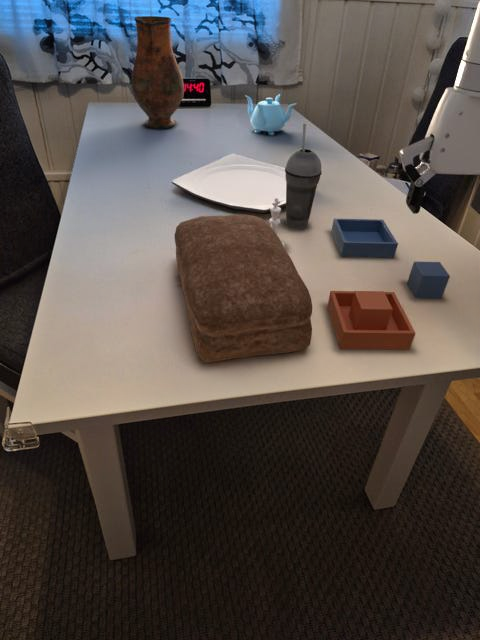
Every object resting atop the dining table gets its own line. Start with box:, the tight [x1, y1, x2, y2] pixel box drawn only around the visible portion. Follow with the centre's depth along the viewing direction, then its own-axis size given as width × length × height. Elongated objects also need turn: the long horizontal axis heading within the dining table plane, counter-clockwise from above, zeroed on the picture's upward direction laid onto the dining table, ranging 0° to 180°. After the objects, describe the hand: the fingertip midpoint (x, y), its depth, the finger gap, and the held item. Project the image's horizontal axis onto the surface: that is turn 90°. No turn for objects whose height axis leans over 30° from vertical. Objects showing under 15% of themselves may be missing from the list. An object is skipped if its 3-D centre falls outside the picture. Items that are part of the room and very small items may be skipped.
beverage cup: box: [284, 123, 323, 231], centre depth 88 cm, size 7×7×20 cm
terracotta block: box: [349, 290, 393, 330], centre depth 66 cm, size 4×4×4 cm
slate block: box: [406, 260, 451, 300], centre depth 75 cm, size 4×4×4 cm
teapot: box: [244, 93, 297, 136], centre depth 145 cm, size 13×13×10 cm
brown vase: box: [131, 15, 185, 130], centre depth 142 cm, size 17×21×30 cm
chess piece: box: [268, 198, 286, 249], centre depth 83 cm, size 5×5×10 cm
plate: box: [171, 153, 286, 214], centre depth 108 cm, size 29×29×3 cm
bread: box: [174, 213, 313, 363], centre depth 68 cm, size 17×29×11 cm, turn 12°
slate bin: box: [330, 218, 399, 259], centre depth 87 cm, size 10×10×3 cm
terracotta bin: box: [326, 290, 416, 351], centre depth 67 cm, size 10×10×3 cm
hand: (444, 210), depth 65 cm, fingers open, 9 cm apart
